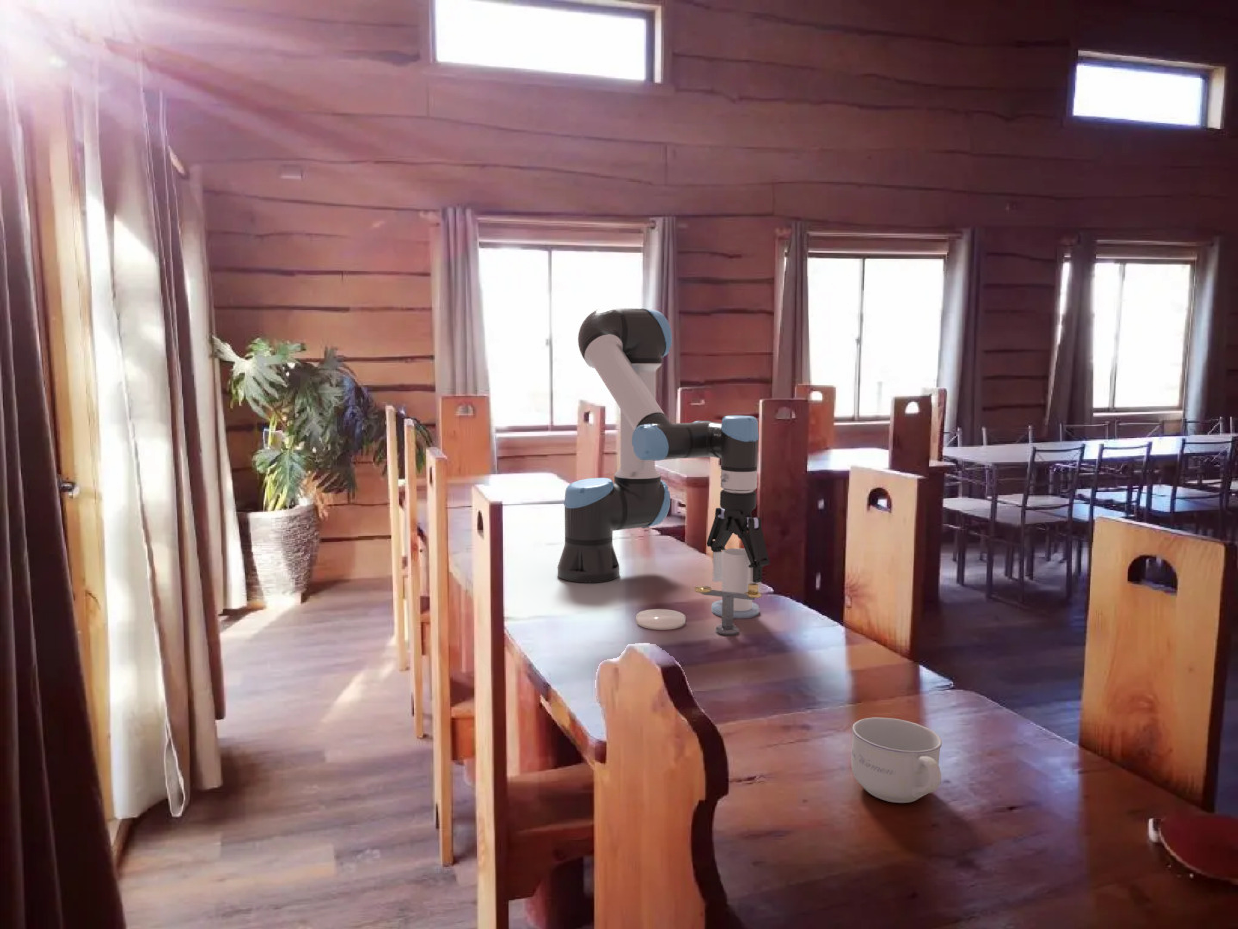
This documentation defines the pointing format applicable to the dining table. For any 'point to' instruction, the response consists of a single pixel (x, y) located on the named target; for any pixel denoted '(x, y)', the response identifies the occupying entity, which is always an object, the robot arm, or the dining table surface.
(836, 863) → the dining table surface
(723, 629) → the balance
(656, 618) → the dish cream
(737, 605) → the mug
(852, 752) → the teacup
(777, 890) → the dining table surface
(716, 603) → the dish blue
